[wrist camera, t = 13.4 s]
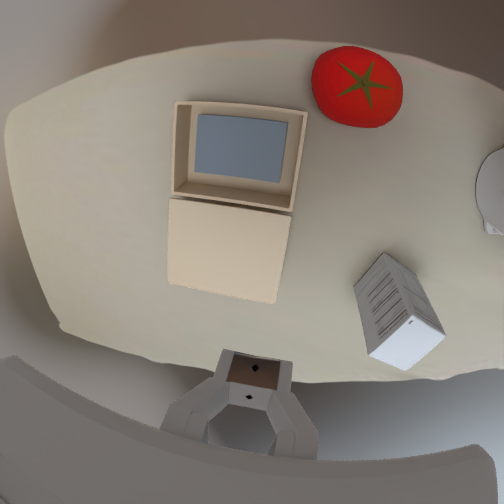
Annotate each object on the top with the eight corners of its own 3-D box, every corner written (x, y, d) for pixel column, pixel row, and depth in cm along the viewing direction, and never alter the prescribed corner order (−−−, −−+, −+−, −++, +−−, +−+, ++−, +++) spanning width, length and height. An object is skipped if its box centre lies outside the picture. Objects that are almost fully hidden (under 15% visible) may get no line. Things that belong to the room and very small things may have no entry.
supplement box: (352, 287, 49) (364, 355, 35) (383, 250, 45) (411, 313, 30) (386, 307, 50) (405, 373, 36) (417, 274, 46) (448, 337, 31)
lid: (275, 304, 43) (275, 302, 44) (291, 216, 38) (291, 215, 39) (167, 282, 45) (169, 281, 46) (169, 198, 40) (171, 197, 40)
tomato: (310, 50, 32) (313, 31, 23) (390, 63, 30) (415, 51, 21) (308, 120, 37) (311, 122, 28) (387, 131, 35) (412, 138, 26)
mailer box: (306, 112, 37) (307, 112, 31) (293, 199, 44) (292, 212, 38) (190, 101, 38) (174, 101, 33) (185, 183, 45) (171, 194, 40)
